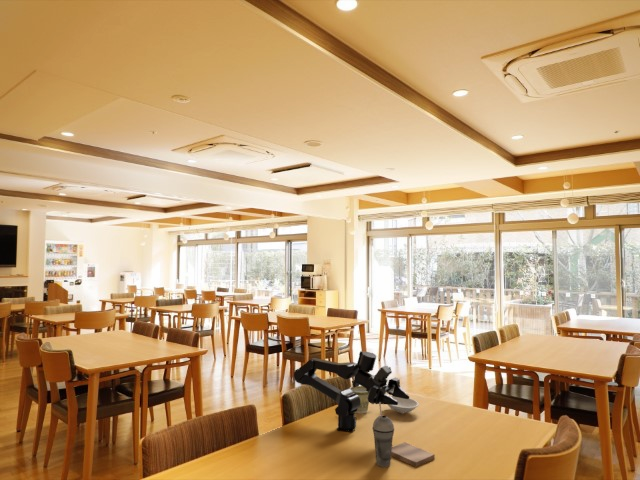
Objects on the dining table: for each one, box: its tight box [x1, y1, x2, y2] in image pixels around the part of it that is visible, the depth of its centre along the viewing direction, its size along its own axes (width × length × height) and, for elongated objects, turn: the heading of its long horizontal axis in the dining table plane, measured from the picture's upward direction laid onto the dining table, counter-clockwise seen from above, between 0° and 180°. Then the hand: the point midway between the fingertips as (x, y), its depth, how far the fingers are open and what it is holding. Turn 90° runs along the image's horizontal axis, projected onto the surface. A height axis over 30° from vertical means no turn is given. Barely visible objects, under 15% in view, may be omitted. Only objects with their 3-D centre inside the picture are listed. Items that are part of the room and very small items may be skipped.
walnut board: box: [391, 441, 436, 468], centre depth 149 cm, size 13×10×2 cm
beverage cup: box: [372, 402, 395, 468], centre depth 143 cm, size 7×7×20 cm
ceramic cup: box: [348, 385, 370, 415], centre depth 197 cm, size 13×10×10 cm
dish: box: [386, 395, 420, 414], centre depth 195 cm, size 18×14×5 cm
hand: (403, 400), depth 160 cm, fingers open, 9 cm apart
